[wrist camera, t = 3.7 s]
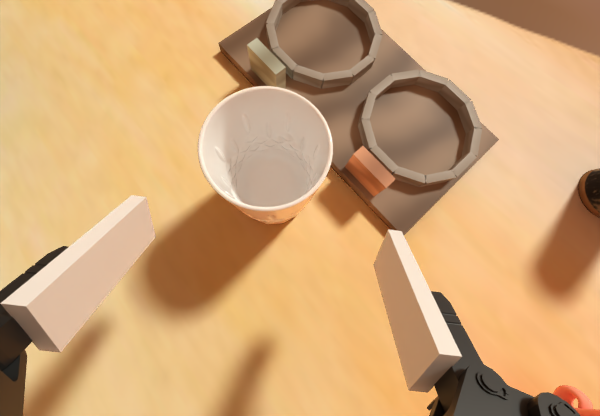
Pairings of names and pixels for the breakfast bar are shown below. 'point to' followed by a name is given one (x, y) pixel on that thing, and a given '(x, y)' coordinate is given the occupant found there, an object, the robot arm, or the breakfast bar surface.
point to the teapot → (584, 403)
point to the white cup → (265, 152)
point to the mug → (591, 191)
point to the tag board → (366, 102)
